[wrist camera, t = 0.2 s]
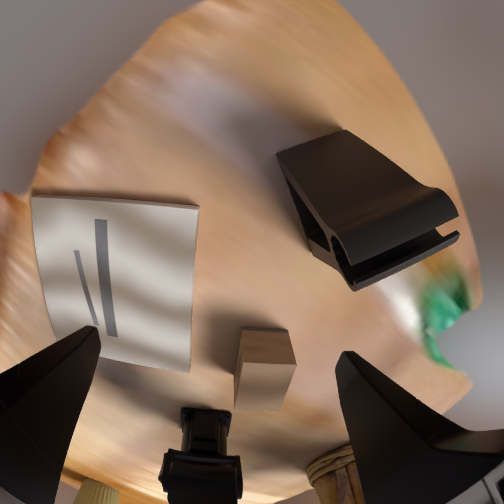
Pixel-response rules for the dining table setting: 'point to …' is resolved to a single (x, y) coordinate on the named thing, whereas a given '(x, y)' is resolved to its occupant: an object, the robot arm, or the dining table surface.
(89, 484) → the potted cactus
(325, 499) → the tankard
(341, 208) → the phone stand
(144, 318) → the board
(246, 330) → the block
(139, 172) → the dining table surface
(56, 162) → the dining table surface
